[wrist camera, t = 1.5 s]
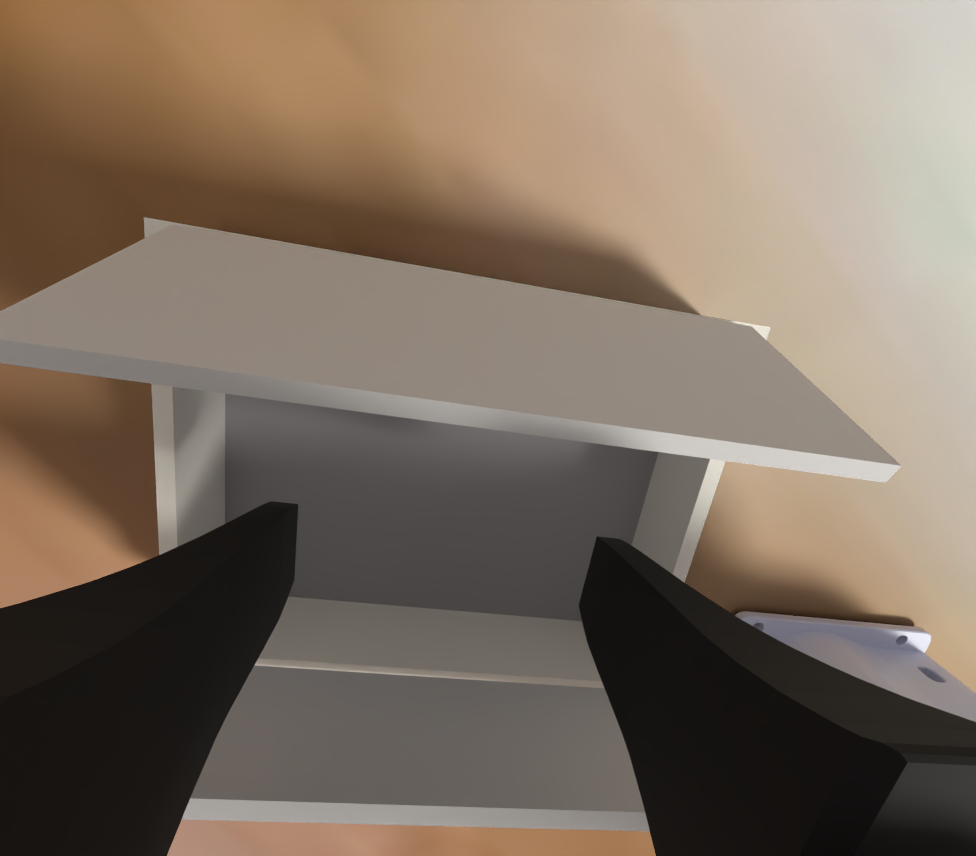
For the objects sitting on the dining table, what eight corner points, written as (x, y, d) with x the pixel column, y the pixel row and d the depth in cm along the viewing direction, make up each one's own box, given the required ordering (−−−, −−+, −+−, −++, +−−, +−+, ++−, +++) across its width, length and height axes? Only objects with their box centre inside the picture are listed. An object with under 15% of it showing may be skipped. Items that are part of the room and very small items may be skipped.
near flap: (175, 242, 11) (171, 224, 11) (743, 339, 13) (751, 326, 12) (-30, 359, 6) (-43, 333, 6) (885, 482, 8) (901, 465, 8)
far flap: (630, 689, 16) (629, 701, 16) (187, 660, 14) (184, 674, 14) (735, 815, 11) (733, 833, 11) (39, 793, 9) (36, 815, 9)
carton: (704, 317, 16) (770, 327, 13) (613, 625, 20) (646, 695, 17) (215, 231, 14) (143, 217, 11) (216, 592, 18) (164, 664, 15)
